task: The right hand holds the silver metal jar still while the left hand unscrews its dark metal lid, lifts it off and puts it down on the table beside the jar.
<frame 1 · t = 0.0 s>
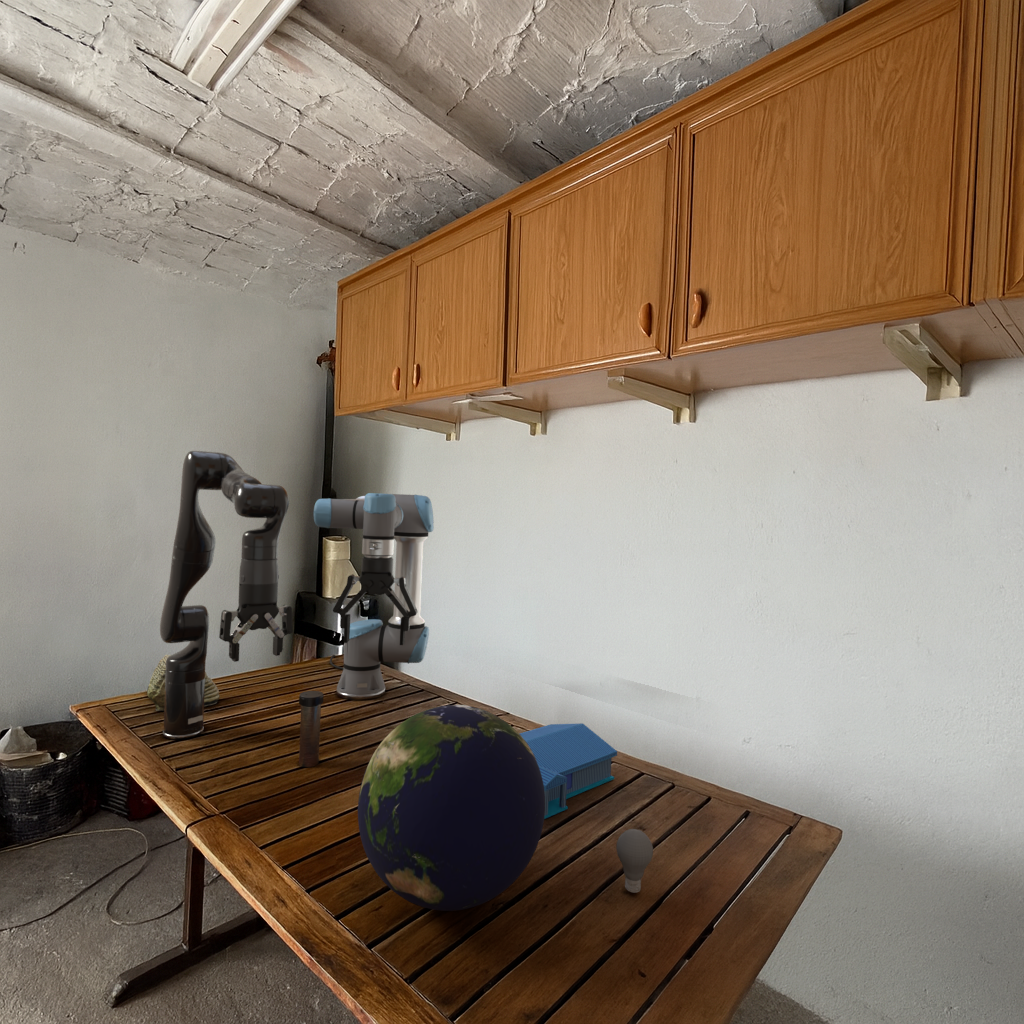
left hand: (256, 657, 132), 29 cm above the table, tool pointing down, fingers open, 8 cm apart
right hand: (374, 643, 155), 28 cm above the table, tool pointing down, fingers open, 13 cm apart
fossil: (183, 706, 185), on the table
jar: (308, 763, 150), on the table
globe: (448, 894, 103), on the table
lid: (311, 695, 150), point 16 cm above the table, screwed on, not yet turned
light bulb: (632, 891, 106), on the table
model building: (527, 788, 142), on the table
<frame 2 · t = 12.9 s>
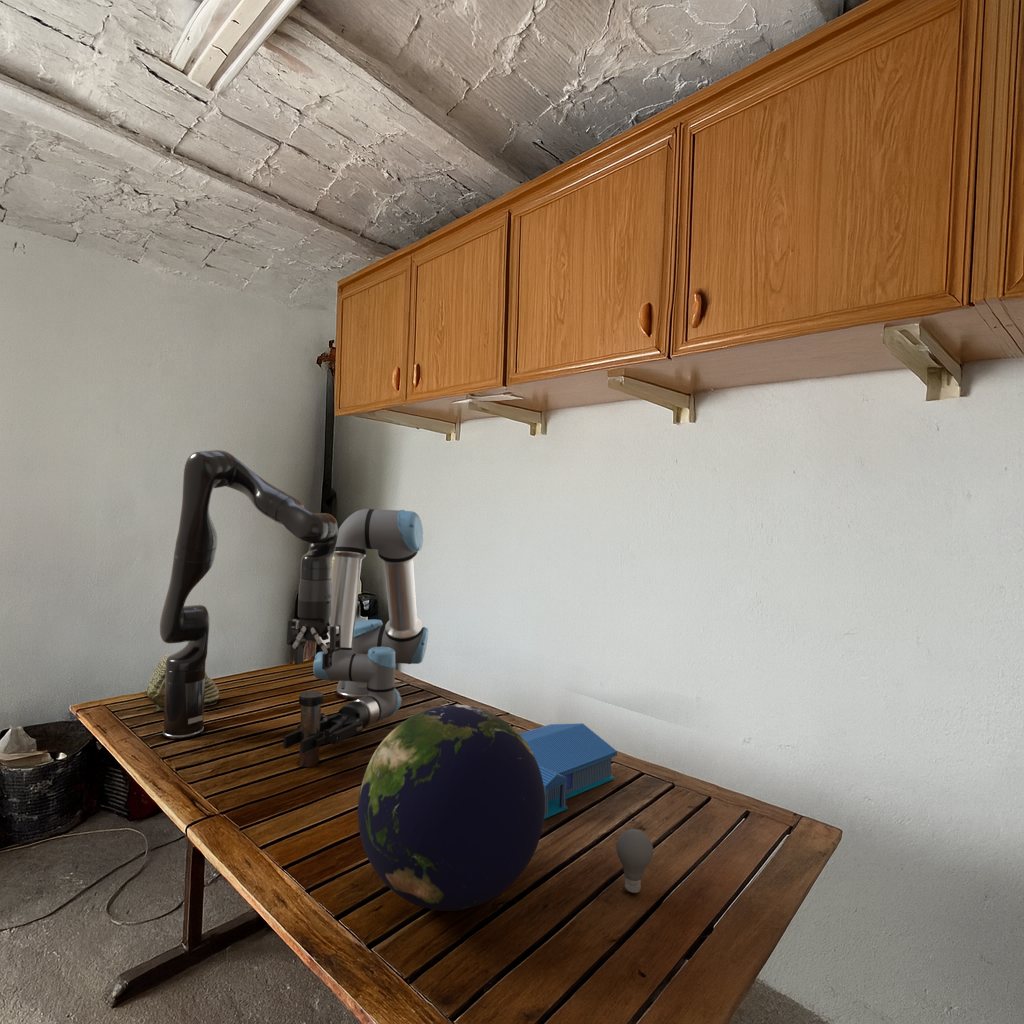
left hand: (312, 666, 150), 23 cm above the table, tool pointing down, fingers open, 8 cm apart
right hand: (293, 744, 145), 6 cm above the table, tool horizontal, fingers closed on jar, 4 cm apart
jar: (308, 763, 150), on the table, touching right hand
everything else where it was.
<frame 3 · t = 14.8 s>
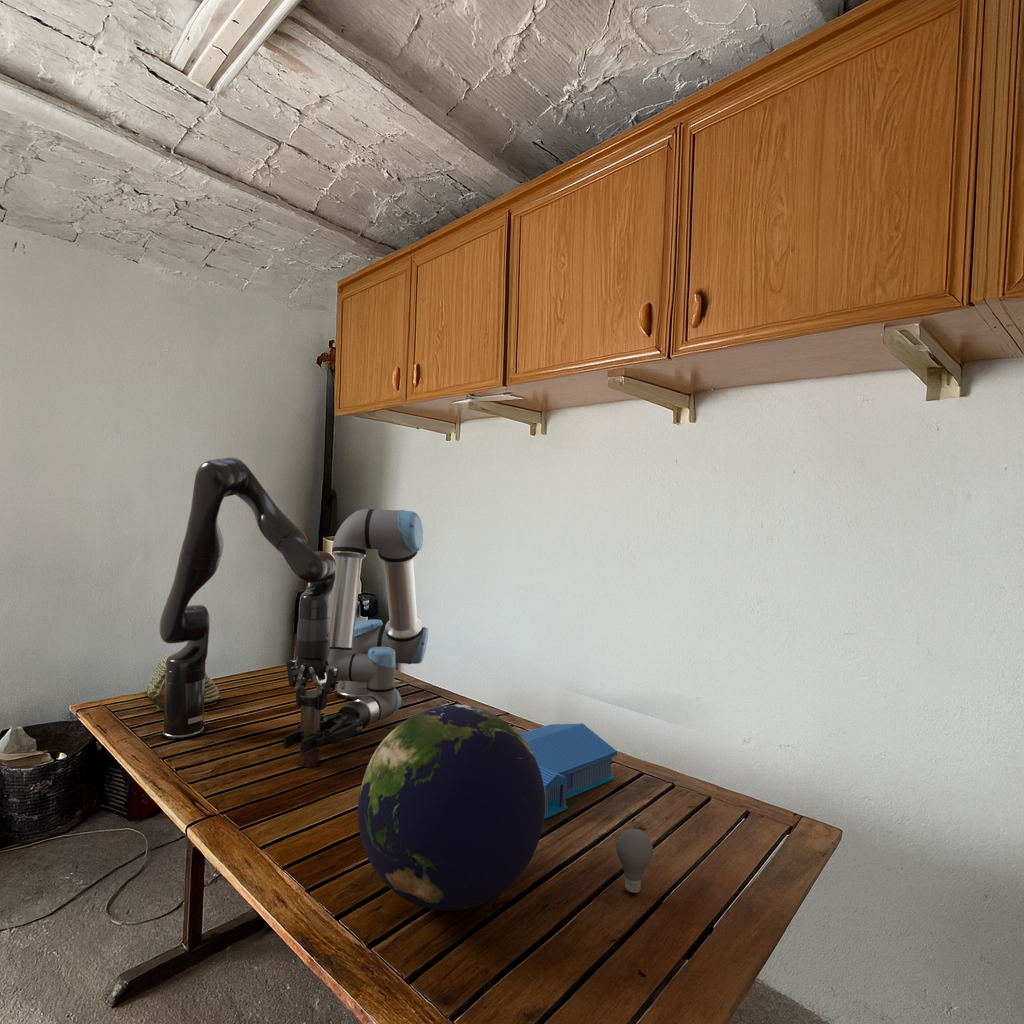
left hand: (311, 707, 150), 13 cm above the table, tool pointing down, fingers closed on lid, 5 cm apart
right hand: (293, 744, 145), 6 cm above the table, tool horizontal, fingers closed on jar, 4 cm apart
jar: (308, 763, 150), on the table, touching right hand
lid: (311, 695, 150), point 16 cm above the table, screwed on, not yet turned, touching left hand
everything else where it was.
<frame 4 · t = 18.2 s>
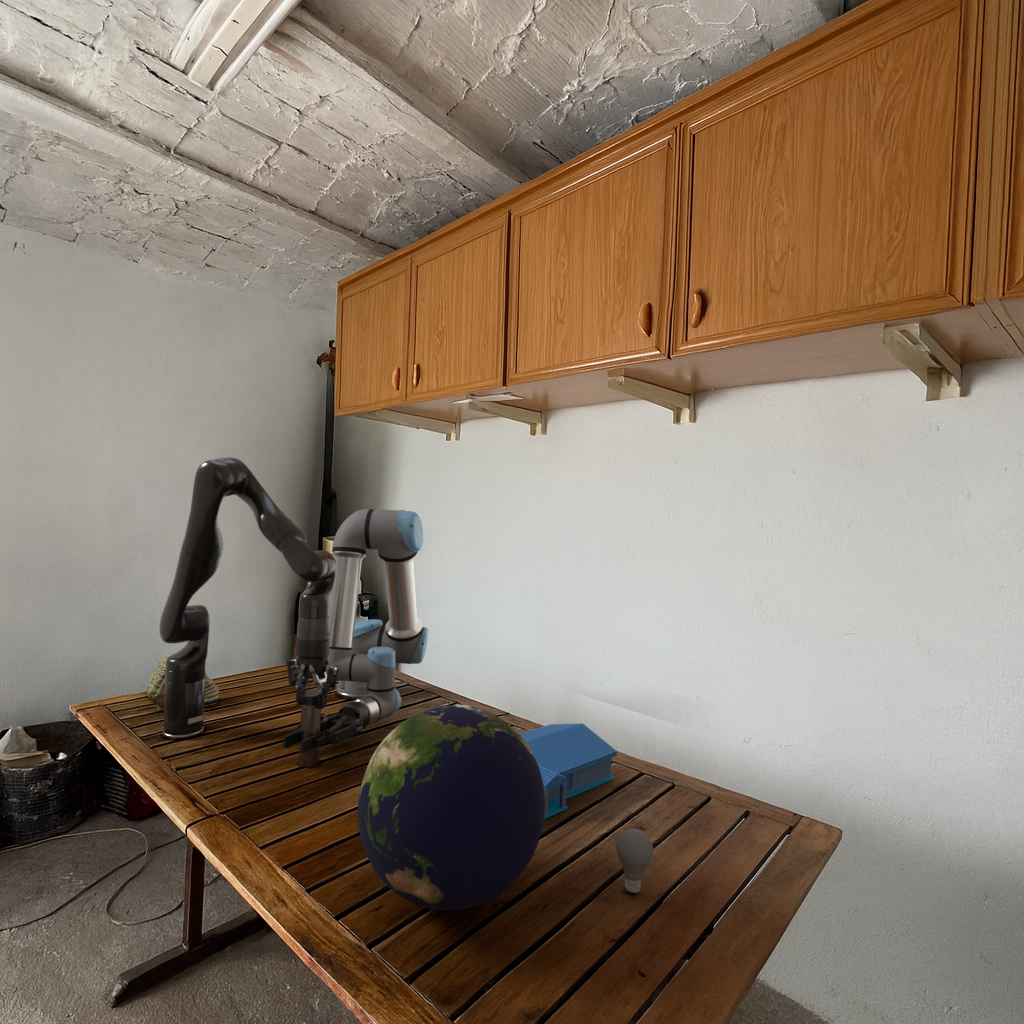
left hand: (311, 706, 150), 14 cm above the table, tool pointing down, fingers closed on lid, 5 cm apart
right hand: (293, 744, 145), 6 cm above the table, tool horizontal, fingers closed on jar, 4 cm apart
jar: (308, 763, 150), on the table, touching right hand
lid: (311, 694, 150), point 16 cm above the table, turned 73° so far, risen 0.2 cm, still on its thread, touching left hand
everything else where it was.
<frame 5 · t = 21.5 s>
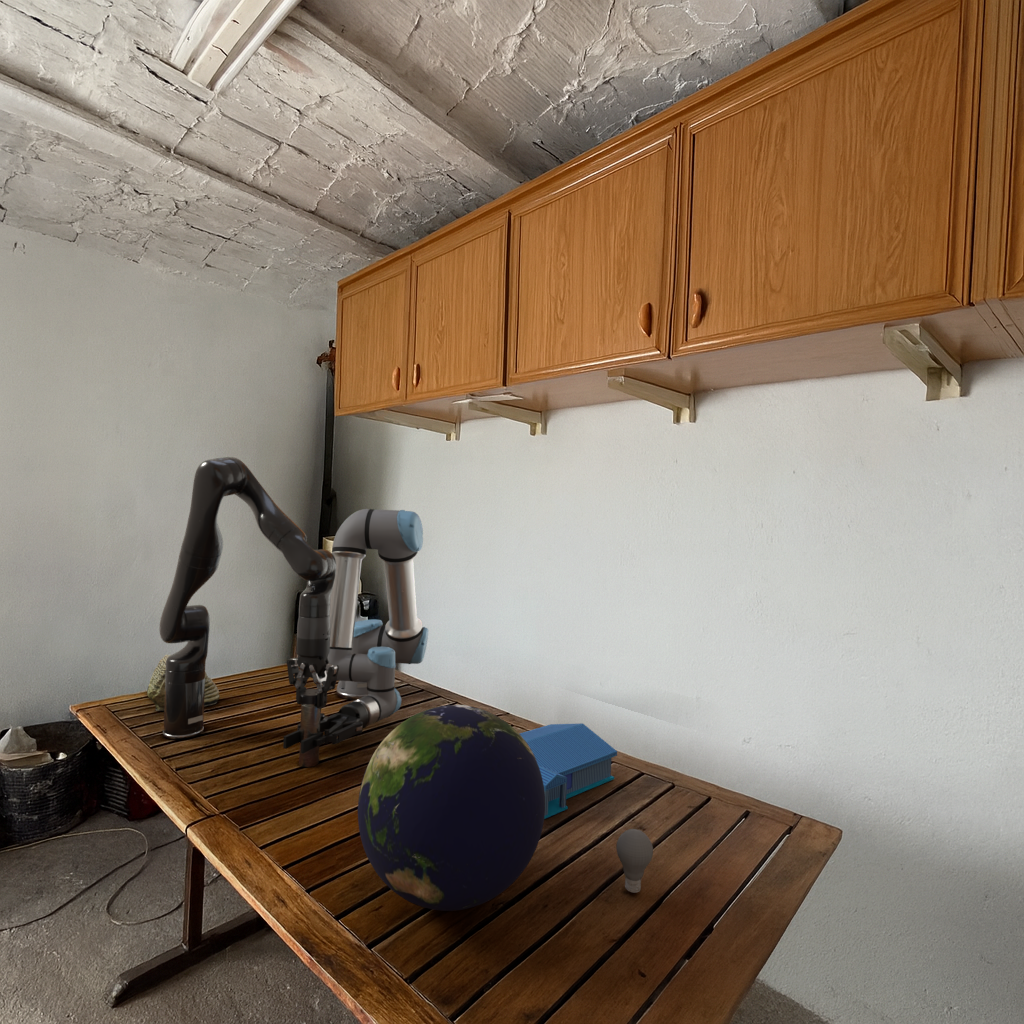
left hand: (311, 705, 150), 14 cm above the table, tool pointing down, fingers closed on lid, 5 cm apart
right hand: (293, 744, 145), 6 cm above the table, tool horizontal, fingers closed on jar, 4 cm apart
jar: (308, 763, 150), on the table, touching right hand
lid: (311, 693, 150), point 17 cm above the table, turned 146° so far, risen 0.4 cm, still on its thread, touching left hand
everything else where it was.
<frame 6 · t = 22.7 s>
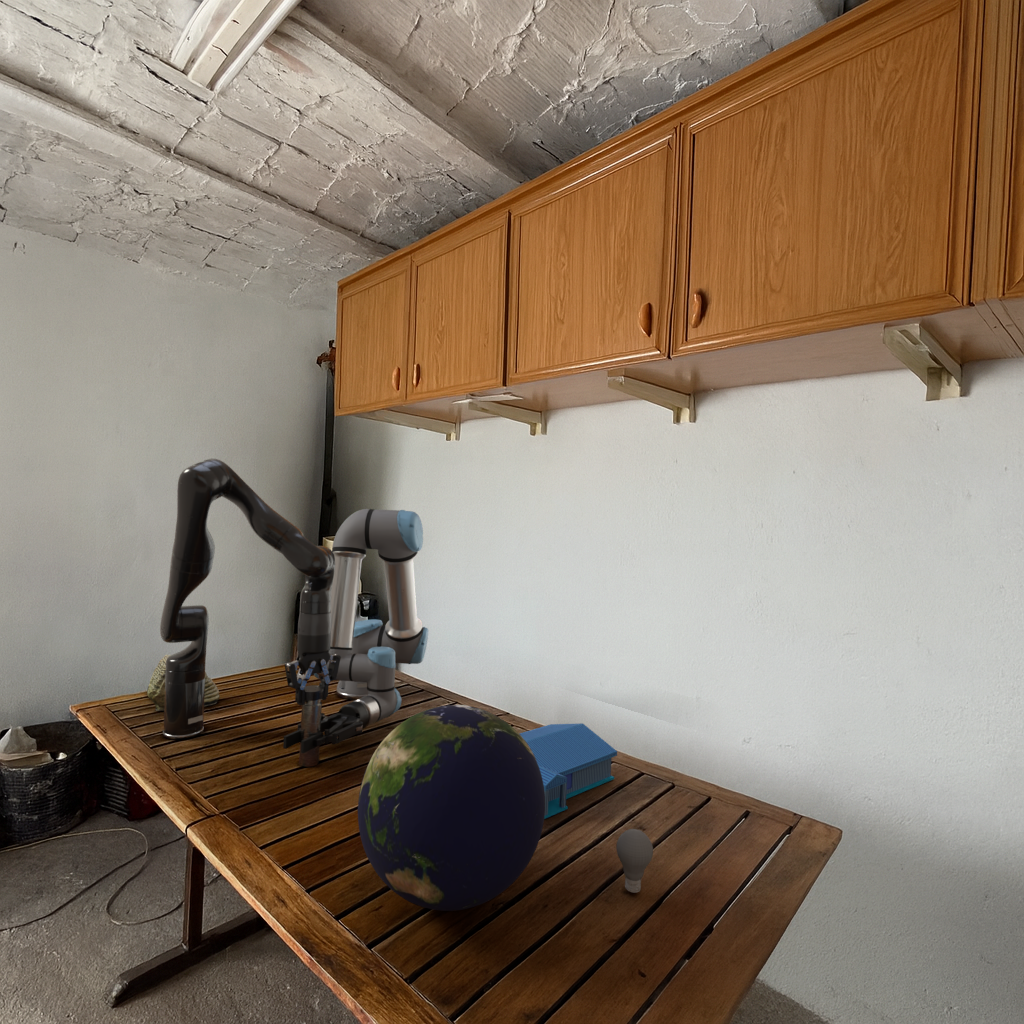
left hand: (311, 701, 150), 15 cm above the table, tool pointing down, fingers closed on lid, 5 cm apart
right hand: (293, 744, 145), 6 cm above the table, tool horizontal, fingers closed on jar, 4 cm apart
jar: (308, 763, 150), on the table, touching right hand
lid: (312, 690, 150), point 17 cm above the table, off its thread, touching left hand
everything else where it was.
when the left hand's fingers open (0 cm above the table, at t = 28.4 s): lid drops 1 cm, point 2 cm above the table.
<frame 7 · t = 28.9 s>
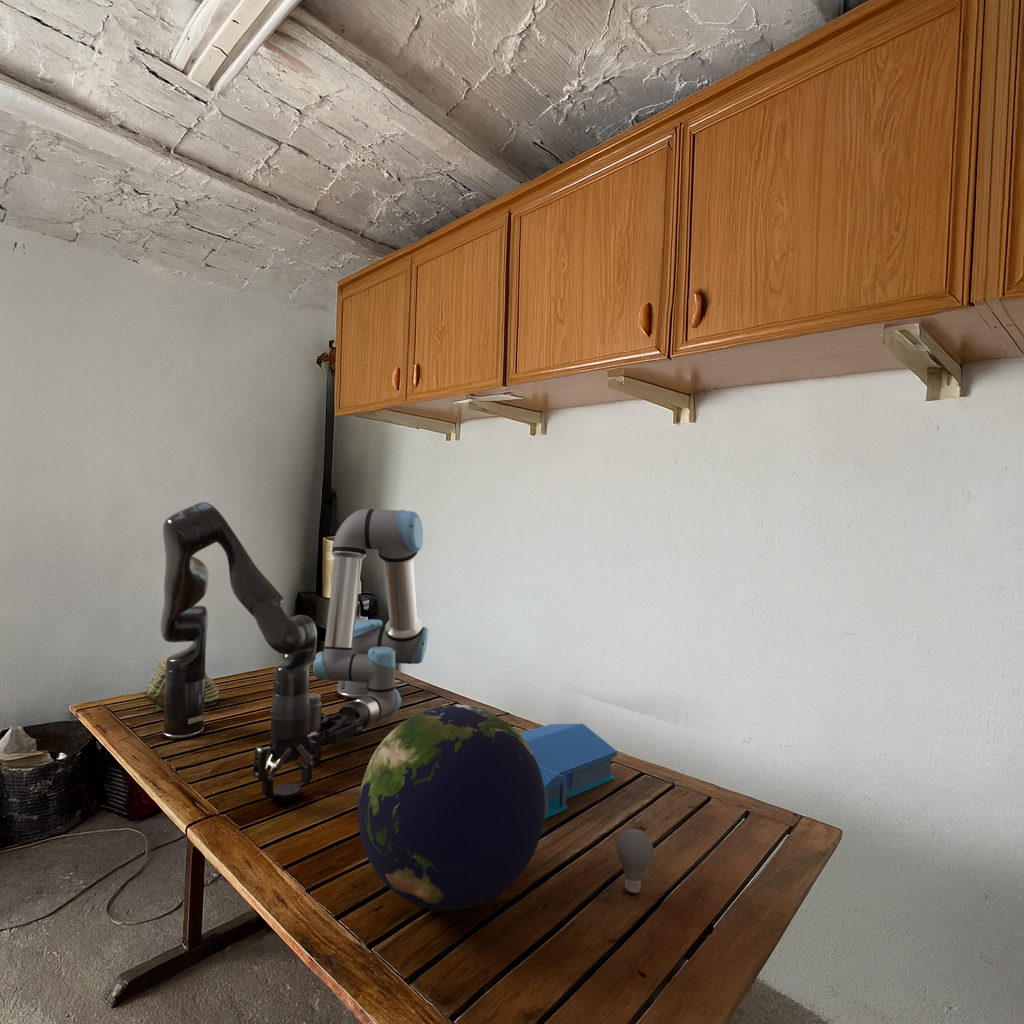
left hand: (287, 789, 132), 2 cm above the table, tool pointing down, fingers open, 8 cm apart
right hand: (293, 744, 145), 6 cm above the table, tool horizontal, fingers closed on jar, 4 cm apart
jar: (308, 763, 150), on the table, touching right hand
lid: (286, 790, 132), point 2 cm above the table, off its thread
everything else where it was.
when the right hand's fingers open (6 cm above the table, at t = 29.3 s): jar stays where it is, on the table.
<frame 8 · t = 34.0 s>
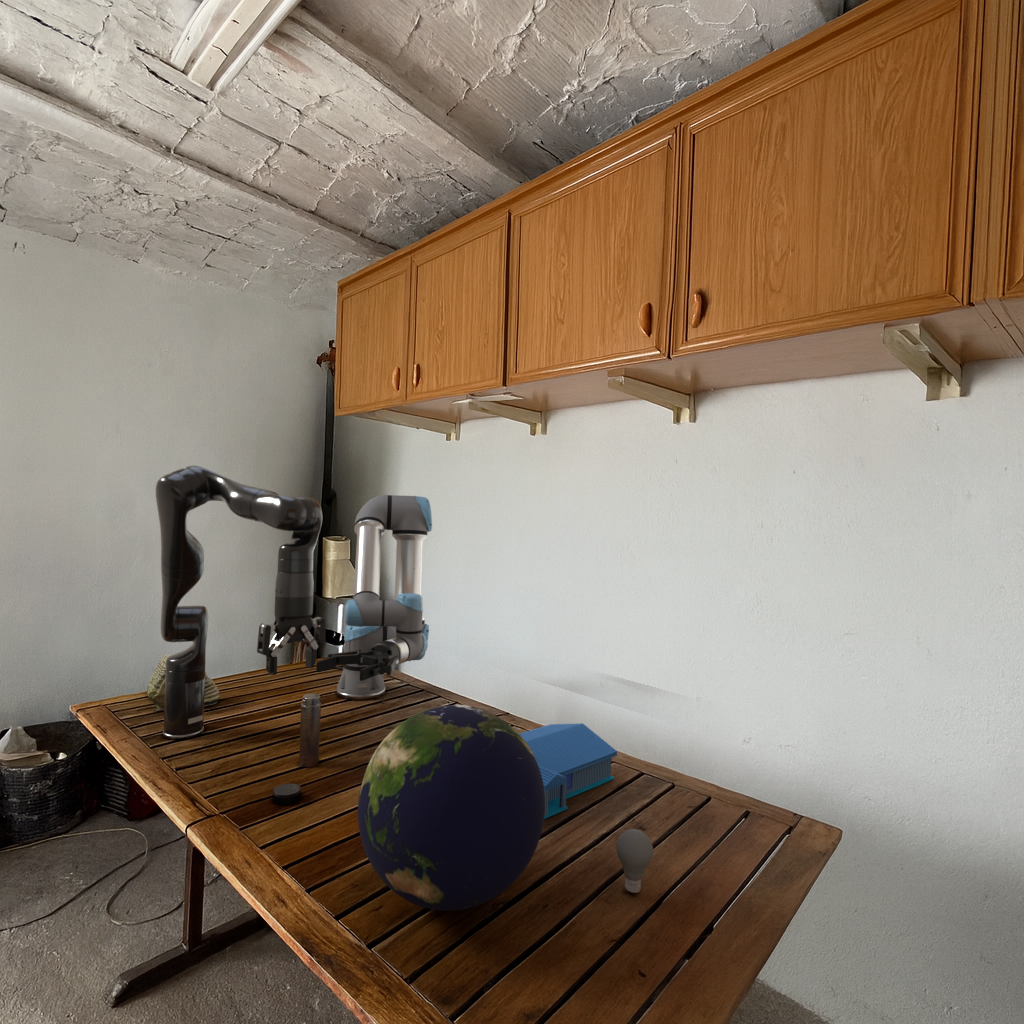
left hand: (291, 670, 132), 27 cm above the table, tool pointing down, fingers open, 8 cm apart
right hand: (338, 671, 158), 20 cm above the table, tool horizontal, fingers open, 13 cm apart
jar: (308, 763, 150), on the table
everything else where it was.
at the end: lid came off its thread; lid point 1.7 cm above the table; the left hand is holding nothing; the right hand is holding nothing; jar tilted 0°; jar moved 0.0 cm from its start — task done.
